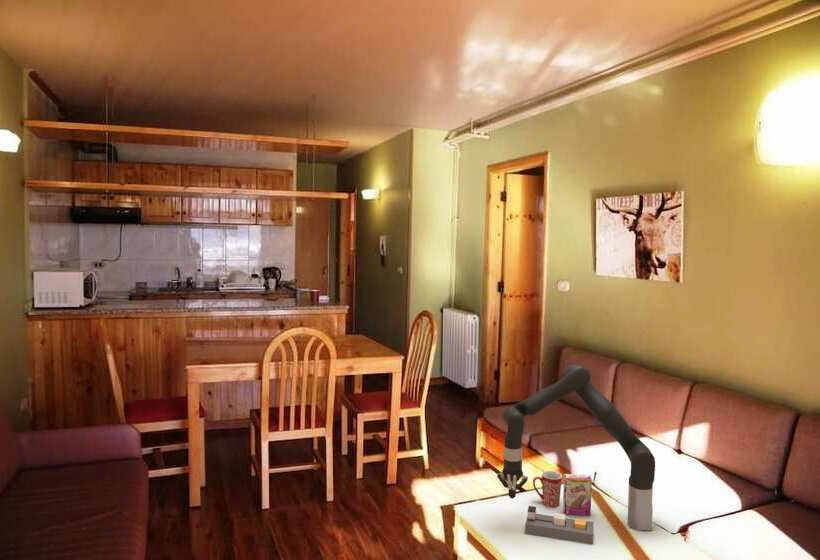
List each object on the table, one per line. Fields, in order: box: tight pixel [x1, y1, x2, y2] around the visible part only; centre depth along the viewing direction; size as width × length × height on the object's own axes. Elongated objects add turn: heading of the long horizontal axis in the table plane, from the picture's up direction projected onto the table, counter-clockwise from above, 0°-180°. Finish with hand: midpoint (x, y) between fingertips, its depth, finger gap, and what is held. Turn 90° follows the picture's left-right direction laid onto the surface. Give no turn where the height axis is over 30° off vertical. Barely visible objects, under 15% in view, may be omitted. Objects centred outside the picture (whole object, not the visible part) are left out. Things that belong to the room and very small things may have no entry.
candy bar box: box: [562, 473, 593, 517], centre depth 247 cm, size 11×5×16 cm, turn 84°
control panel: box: [524, 513, 594, 545], centre depth 232 cm, size 26×10×4 cm, turn 71°
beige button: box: [553, 512, 566, 527], centre depth 231 cm, size 4×4×3 cm
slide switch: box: [527, 505, 537, 520], centre depth 235 cm, size 3×4×6 cm
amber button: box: [574, 518, 587, 530], centre depth 229 cm, size 4×4×3 cm
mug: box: [532, 470, 563, 508], centre depth 256 cm, size 13×9×14 cm
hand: (512, 497), depth 237 cm, fingers closed
